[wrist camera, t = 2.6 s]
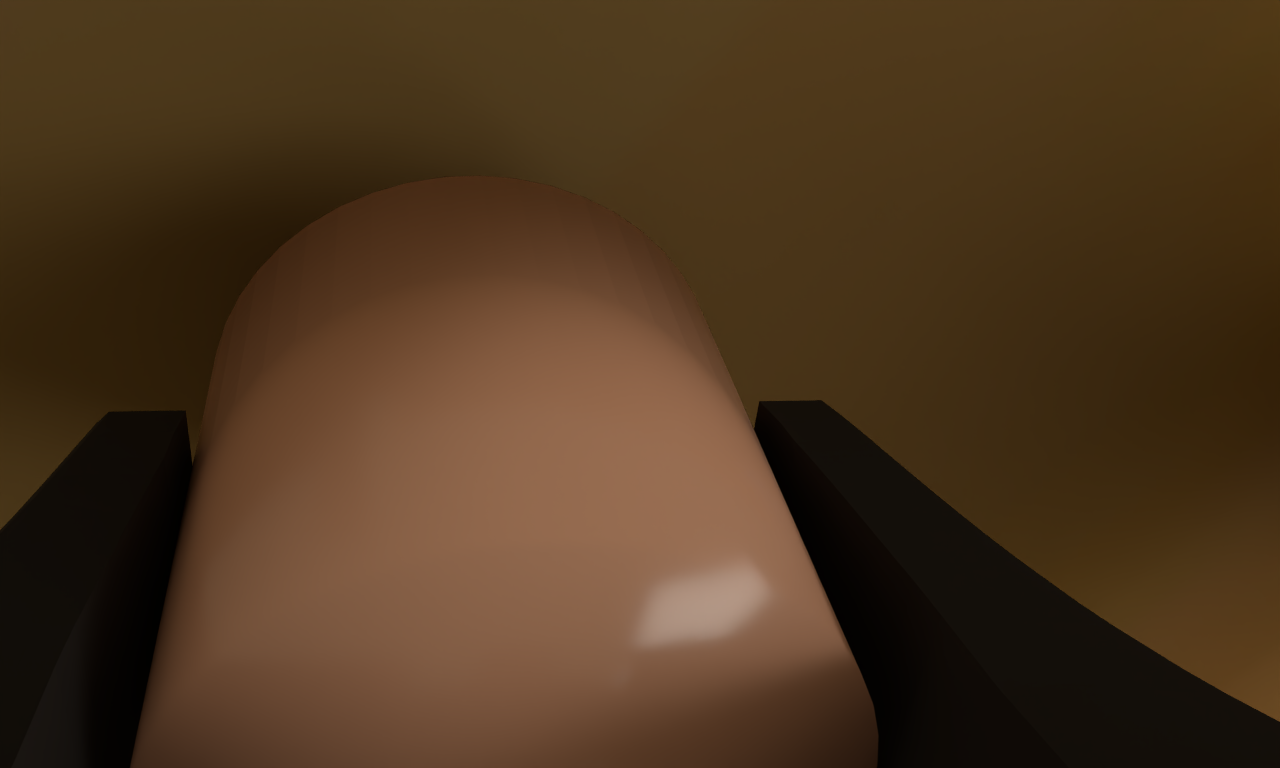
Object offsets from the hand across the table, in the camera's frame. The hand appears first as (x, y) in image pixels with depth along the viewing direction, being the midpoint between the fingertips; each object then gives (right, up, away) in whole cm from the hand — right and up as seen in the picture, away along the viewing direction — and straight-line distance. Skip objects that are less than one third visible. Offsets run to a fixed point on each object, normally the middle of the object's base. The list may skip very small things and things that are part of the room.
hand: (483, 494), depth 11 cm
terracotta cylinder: (0, +1, +1) cm, 1 cm away
